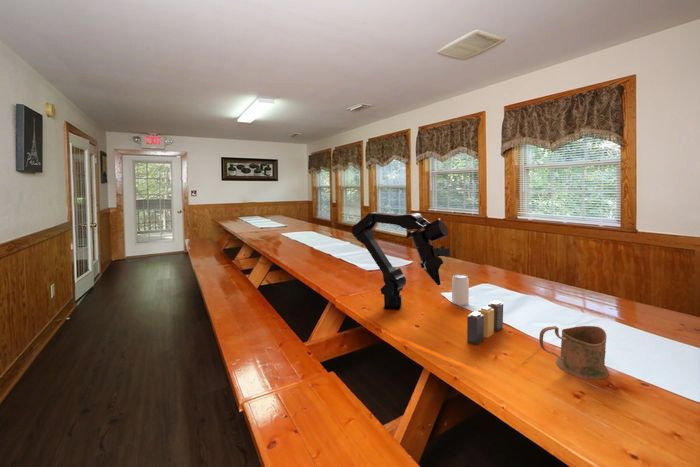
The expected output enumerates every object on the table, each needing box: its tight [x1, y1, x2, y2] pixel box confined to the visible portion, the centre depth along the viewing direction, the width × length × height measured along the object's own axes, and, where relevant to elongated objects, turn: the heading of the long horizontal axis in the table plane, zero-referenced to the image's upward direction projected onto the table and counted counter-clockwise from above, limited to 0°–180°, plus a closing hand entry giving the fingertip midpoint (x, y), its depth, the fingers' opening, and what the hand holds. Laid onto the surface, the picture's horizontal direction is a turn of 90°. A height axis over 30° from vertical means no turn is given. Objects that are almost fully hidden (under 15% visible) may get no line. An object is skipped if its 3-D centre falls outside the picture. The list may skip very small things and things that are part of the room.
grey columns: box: [466, 300, 504, 346], centre depth 112 cm, size 18×19×10 cm
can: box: [451, 273, 470, 306], centre depth 137 cm, size 6×6×12 cm
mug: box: [538, 325, 609, 381], centre depth 89 cm, size 12×18×12 cm, turn 95°
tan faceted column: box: [477, 305, 495, 339], centre depth 108 cm, size 3×4×9 cm
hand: (439, 284), depth 124 cm, fingers closed
